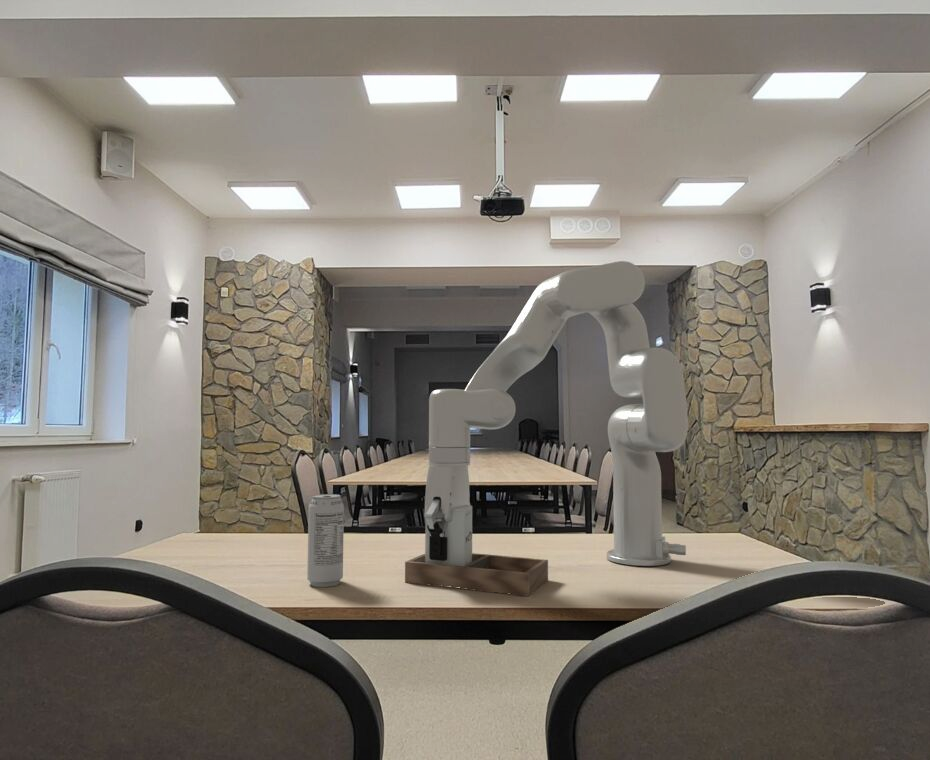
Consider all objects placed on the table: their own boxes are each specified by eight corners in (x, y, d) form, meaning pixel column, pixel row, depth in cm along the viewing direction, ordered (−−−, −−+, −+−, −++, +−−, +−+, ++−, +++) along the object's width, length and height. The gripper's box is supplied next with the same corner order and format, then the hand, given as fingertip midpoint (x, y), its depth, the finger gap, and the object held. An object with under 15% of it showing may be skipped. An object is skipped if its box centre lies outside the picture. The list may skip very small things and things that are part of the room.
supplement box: (465, 584, 107) (465, 510, 108) (423, 582, 108) (424, 508, 109) (473, 574, 114) (473, 504, 115) (434, 572, 116) (434, 503, 117)
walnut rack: (548, 580, 110) (547, 559, 110) (528, 596, 99) (527, 574, 100) (434, 568, 119) (434, 549, 119) (404, 582, 108) (405, 561, 109)
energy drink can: (339, 577, 111) (341, 493, 112) (345, 586, 106) (346, 496, 107) (305, 580, 109) (307, 494, 110) (309, 589, 104) (310, 498, 105)
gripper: (450, 454, 122) (450, 545, 121) (408, 459, 106) (407, 563, 105) (486, 455, 119) (486, 548, 118) (447, 460, 103) (447, 567, 102)
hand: (449, 554), depth 112 cm, fingers closed on supplement box, 8 cm apart
